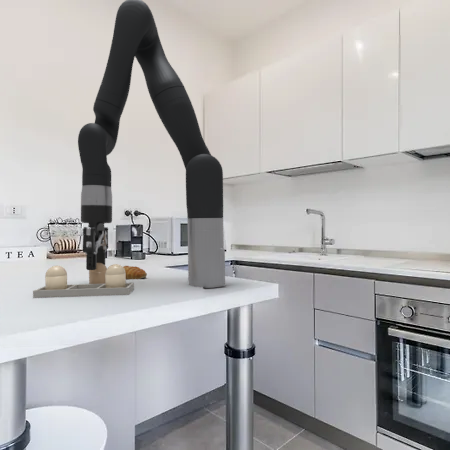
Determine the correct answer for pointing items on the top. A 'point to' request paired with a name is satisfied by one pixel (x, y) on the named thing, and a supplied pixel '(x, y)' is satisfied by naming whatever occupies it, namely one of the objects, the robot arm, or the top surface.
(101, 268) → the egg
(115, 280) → the egg
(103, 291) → the carton
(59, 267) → the egg
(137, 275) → the pastry
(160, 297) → the top surface
